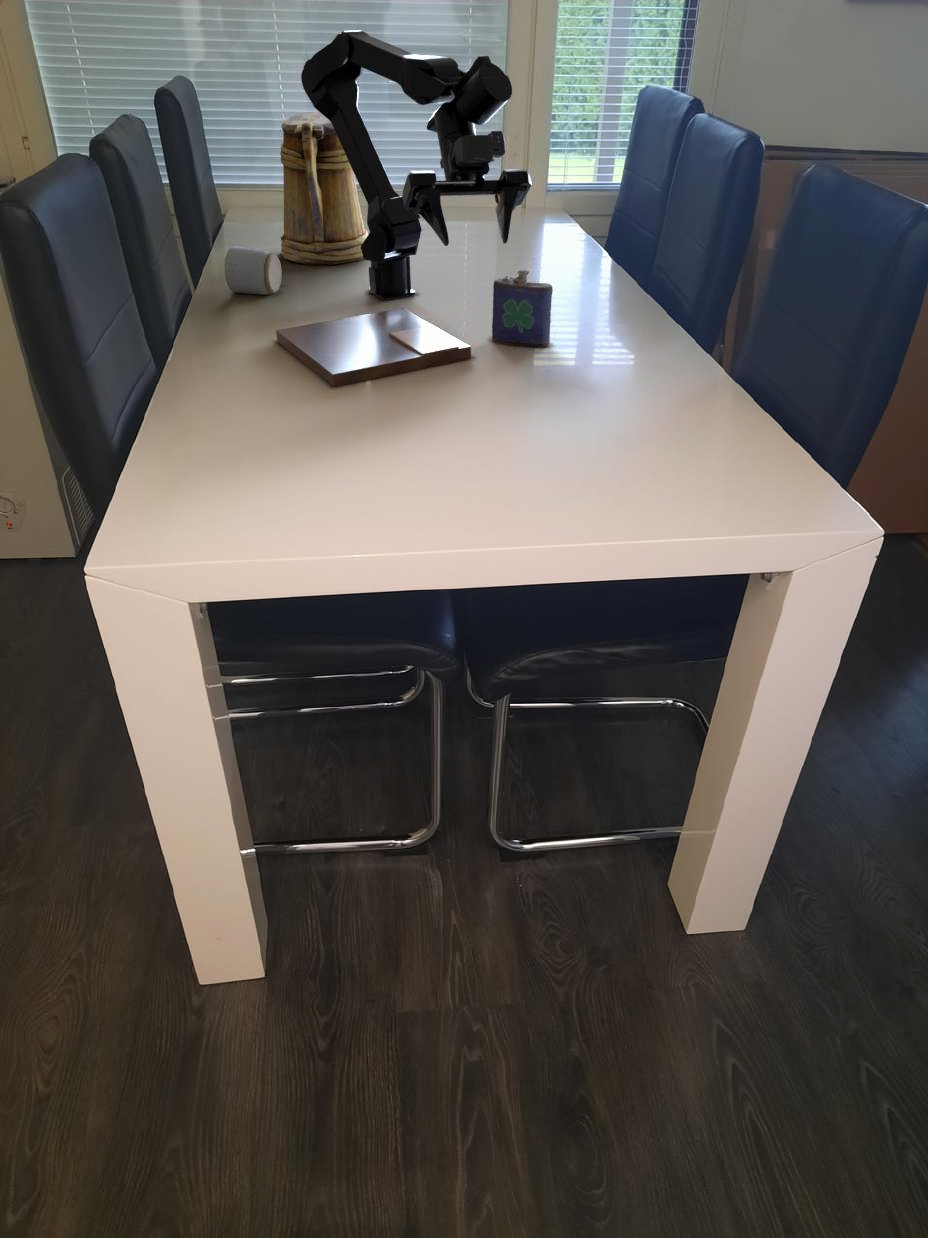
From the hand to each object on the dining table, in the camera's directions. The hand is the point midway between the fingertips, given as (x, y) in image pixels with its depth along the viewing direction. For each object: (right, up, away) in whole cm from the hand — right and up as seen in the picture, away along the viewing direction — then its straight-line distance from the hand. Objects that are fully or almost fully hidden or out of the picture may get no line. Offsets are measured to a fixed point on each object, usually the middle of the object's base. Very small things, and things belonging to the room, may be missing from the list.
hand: (476, 243), depth 127 cm
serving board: (-16, -15, +3) cm, 22 cm away
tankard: (-30, +18, +47) cm, 59 cm away
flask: (+7, -13, +5) cm, 16 cm away
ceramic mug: (-39, +3, +28) cm, 48 cm away
